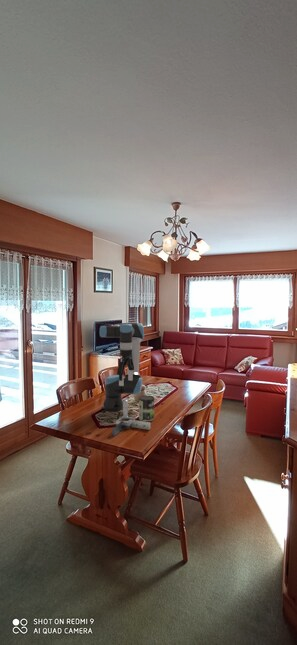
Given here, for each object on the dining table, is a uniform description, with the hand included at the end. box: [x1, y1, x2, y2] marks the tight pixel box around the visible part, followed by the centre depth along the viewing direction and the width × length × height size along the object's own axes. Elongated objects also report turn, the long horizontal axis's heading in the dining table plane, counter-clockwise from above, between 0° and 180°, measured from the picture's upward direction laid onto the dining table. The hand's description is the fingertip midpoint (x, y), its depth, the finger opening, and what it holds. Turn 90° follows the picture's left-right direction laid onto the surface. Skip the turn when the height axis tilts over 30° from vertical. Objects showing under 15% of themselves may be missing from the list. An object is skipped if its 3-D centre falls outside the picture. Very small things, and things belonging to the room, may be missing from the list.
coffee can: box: [138, 394, 155, 422], centre depth 204 cm, size 10×10×14 cm
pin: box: [122, 399, 129, 421], centre depth 192 cm, size 3×3×16 cm
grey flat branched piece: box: [111, 415, 152, 437], centre depth 185 cm, size 21×21×4 cm
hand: (125, 382), depth 192 cm, fingers open, 13 cm apart
